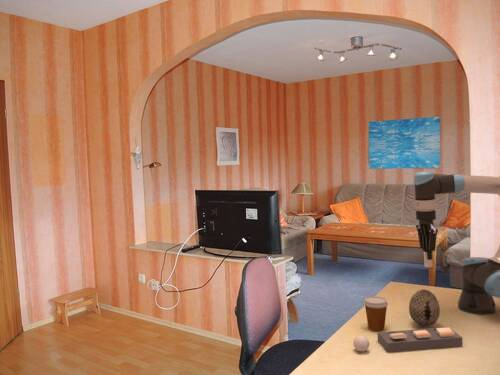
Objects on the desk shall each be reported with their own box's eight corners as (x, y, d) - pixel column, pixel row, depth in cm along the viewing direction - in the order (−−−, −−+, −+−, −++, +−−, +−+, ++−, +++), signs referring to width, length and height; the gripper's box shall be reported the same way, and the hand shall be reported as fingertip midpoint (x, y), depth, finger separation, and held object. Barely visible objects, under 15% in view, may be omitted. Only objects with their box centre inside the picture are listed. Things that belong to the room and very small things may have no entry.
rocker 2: (448, 329, 165) (448, 327, 165) (454, 336, 161) (454, 333, 161) (435, 330, 165) (436, 328, 164) (441, 337, 161) (441, 334, 160)
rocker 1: (402, 335, 163) (402, 332, 164) (406, 337, 160) (406, 334, 160) (389, 336, 163) (388, 333, 163) (393, 338, 159) (393, 335, 159)
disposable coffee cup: (389, 333, 175) (389, 304, 174) (365, 332, 177) (364, 303, 176) (387, 324, 184) (386, 296, 184) (363, 323, 186) (363, 295, 186)
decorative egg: (407, 320, 188) (406, 285, 187) (436, 320, 186) (435, 285, 185) (412, 330, 177) (411, 294, 176) (443, 331, 174) (442, 294, 173)
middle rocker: (425, 332, 164) (425, 329, 164) (430, 337, 160) (430, 334, 160) (412, 333, 164) (412, 330, 164) (417, 338, 160) (417, 335, 160)
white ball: (366, 355, 157) (366, 340, 157) (351, 352, 160) (351, 337, 160) (373, 347, 164) (372, 332, 163) (358, 344, 167) (357, 329, 166)
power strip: (448, 335, 171) (447, 326, 170) (462, 346, 161) (462, 336, 160) (377, 341, 168) (377, 332, 168) (387, 352, 159) (387, 342, 158)
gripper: (408, 209, 185) (412, 264, 187) (425, 212, 172) (428, 271, 174) (425, 207, 186) (428, 262, 188) (443, 210, 173) (446, 269, 175)
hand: (428, 266), depth 181 cm, fingers closed
